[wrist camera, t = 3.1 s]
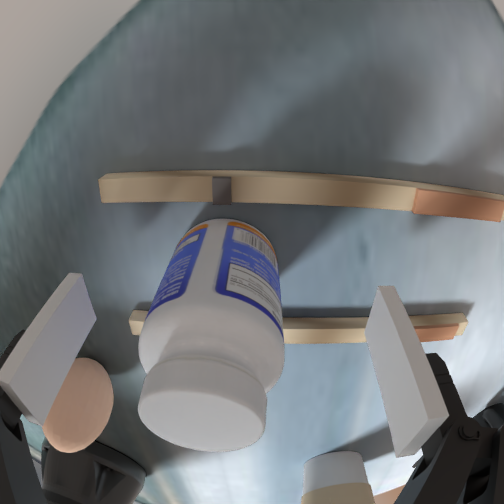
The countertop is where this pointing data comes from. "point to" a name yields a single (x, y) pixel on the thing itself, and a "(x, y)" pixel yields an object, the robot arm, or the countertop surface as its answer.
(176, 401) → the pill bottle
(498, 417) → the mug
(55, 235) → the countertop surface
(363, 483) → the coffee cup
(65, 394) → the egg
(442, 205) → the beam track
